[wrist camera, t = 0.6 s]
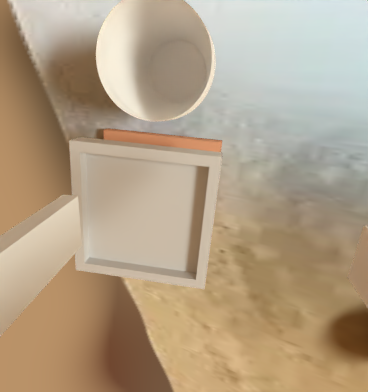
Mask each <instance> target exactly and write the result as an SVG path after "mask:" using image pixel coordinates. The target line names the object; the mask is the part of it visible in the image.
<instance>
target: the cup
mask: <svg viewBox="0 0 368 392" xmlns="http://www.w3.org/2000/svg"><path fill="white" fill-rule="evenodd" d="M215 62H216V60H215V50H214V45H213V42H212V39H211V36H210V34H209V32H208V30H207V28H206V26H205V25H204V23H203V22H202V20H201V18H200V17H199V15H198V14H197V13H196V12H195V10H194V9H193V8H192V7H191V6H190V5H188V4H187V3H186V2H185V1H183V0H122V1H121V2H120V3H119V4H117V5H116V6H115V7H114V8H113V9H112V10H111V12H110V13H109V14H108V16H107V17H106V19H105V21H104V23H103V25H102V27H101V29H100V32H99V36H98V39H97V45H96V63H97V70H98V74H99V77H100V80H101V83H102V85H103V87H104V89H105V91H106V92H107V94H108V95H109V97H110V98H111V99H112V101H113V102H114V103H115V104H116V105H117V106H118V107H119V108H121V109H122V110H123V111H125V112H126V113H128V114H129V115H131V116H133V117H136V118H138V119H141V120H146V121H167V120H173V119H177V118H180V117H182V116H184V115H186V114H188V113H190V112H191V111H192V110H194V109H195V108H196V107H197V106H198V105H199V104H200V103H201V102H202V100H203V99H204V98H205V96H206V95H207V93H208V91H209V89H210V87H211V84H212V81H213V78H214V73H215Z"/></svg>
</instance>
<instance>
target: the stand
mask: <svg viewBox="0 0 368 392" xmlns="http://www.w3.org/2000/svg"><path fill="white" fill-rule="evenodd" d="M221 146H222V140H213V139H203V138H194V137H184V136H175V135H165V134H156V133H146V132H137V131H127V130H118V129H105V130H104V139H95V138H86V137H78V138H75V139H72V140H69V148H70V164H71V165H70V167H71V185H72V195H73V196H78V202H79V215H80V227H81V240H82V246H81V247H80V248H79V250H78V251H77V252H76V253H75V263H76V270H80V271H87V272H94V273H101V274H107V275H113V276H120V277H127V278H133V279H140V280H147V281H153V282H160V283H166V284H173V285H180V286H186V287H193V288H199V289H205V281H206V274H207V267H208V259H209V252H210V244H211V237H212V229H213V222H214V214H215V207H216V199H217V192H218V184H219V177H220V170H221V162H222V152H221Z"/></svg>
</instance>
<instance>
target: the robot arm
mask: <svg viewBox="0 0 368 392" xmlns="http://www.w3.org/2000/svg"><path fill="white" fill-rule="evenodd" d="M81 246H82V240H81V227H80V215H79V202H78V196H73V195H64V194H63V195H61V196H60V197H58V198H57V199H55V200H54V201H52V202H51V203H49V204H48V205H46V206H45V207H43V208H42V209H40V210H39V211H37V212H35V213H34V214H32V215H31V216H29V217H28V218H26V219H25V220H23V221H22V222H20V223H19V224H17V225H16V226H14V227H13V228H11V229H10V230H8V231H7V232H5V233H4V234H2V235H1V236H0V336H1V335H2V334H3V333H4V332H5V331H6V330H7V328H8V327H9V326H10V325H11V324H12V323H13V322H14V321H15V320H16V318H17V317H18V316H19V315H20V314H21V313H22V312H23V311H24V310H25V308H26V307H27V306H28V305H29V304H30V303H31V302H32V301H33V300H34V298H35V297H36V296H37V295H38V294H39V293H40V292H41V291H42V290H43V288H44V287H45V286H46V285H47V284H48V283H49V282H50V281H51V280H52V278H53V277H54V276H55V275H56V274H57V273H58V272H59V271H60V269H61V268H62V267H63V266H64V265H65V264H66V263H67V262H68V261H69V260H70V258H71V257H72V256H73V255H74V254H75V253H76V252H77V251H78V250H79V248H80V247H81ZM347 278H348V279H349V281H350V282H351V284H352V285H353V287H354V289H355V290H356V292H357V293H358V295H359V296H360V298H361V299H362V301H363V302H364V304H365V305H366V307H367V308H368V226H364V227H363V230H362V233H361V236H360V239H359V243H358V246H357V249H356V252H355V255H354V258H353V262H352V265H351V268H350V271H349V274H348V277H347Z"/></svg>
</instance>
